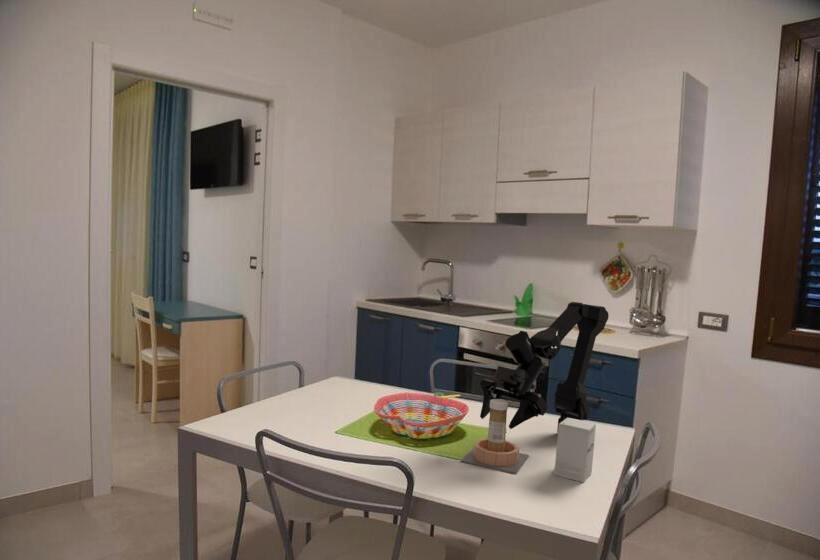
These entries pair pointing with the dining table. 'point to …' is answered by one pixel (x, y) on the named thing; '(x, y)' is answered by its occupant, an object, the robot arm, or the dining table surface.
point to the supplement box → (575, 449)
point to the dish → (496, 457)
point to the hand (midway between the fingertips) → (495, 422)
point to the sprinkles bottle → (497, 425)
